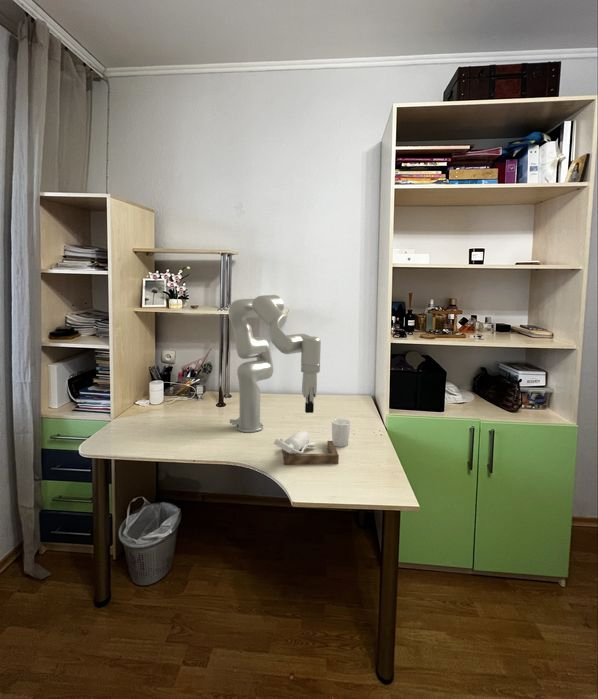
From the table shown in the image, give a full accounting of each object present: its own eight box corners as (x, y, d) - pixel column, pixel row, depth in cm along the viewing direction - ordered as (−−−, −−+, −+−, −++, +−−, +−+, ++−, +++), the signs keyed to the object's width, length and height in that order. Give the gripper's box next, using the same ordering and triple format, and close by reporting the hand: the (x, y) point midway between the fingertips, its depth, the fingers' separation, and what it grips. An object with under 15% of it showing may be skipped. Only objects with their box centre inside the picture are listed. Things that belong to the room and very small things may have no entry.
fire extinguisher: (312, 454, 193) (297, 465, 169) (288, 439, 196) (270, 448, 172) (320, 440, 193) (306, 449, 169) (295, 425, 196) (278, 432, 172)
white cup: (348, 440, 202) (349, 418, 200) (350, 447, 194) (351, 425, 192) (330, 440, 201) (331, 418, 200) (332, 447, 194) (332, 424, 192)
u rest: (284, 464, 176) (284, 456, 175) (281, 449, 190) (282, 441, 190) (338, 463, 178) (338, 455, 177) (331, 448, 192) (332, 440, 192)
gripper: (299, 363, 189) (298, 406, 192) (303, 372, 174) (301, 418, 177) (317, 363, 189) (315, 406, 193) (322, 372, 175) (321, 418, 178)
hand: (309, 412), depth 185 cm, fingers closed
